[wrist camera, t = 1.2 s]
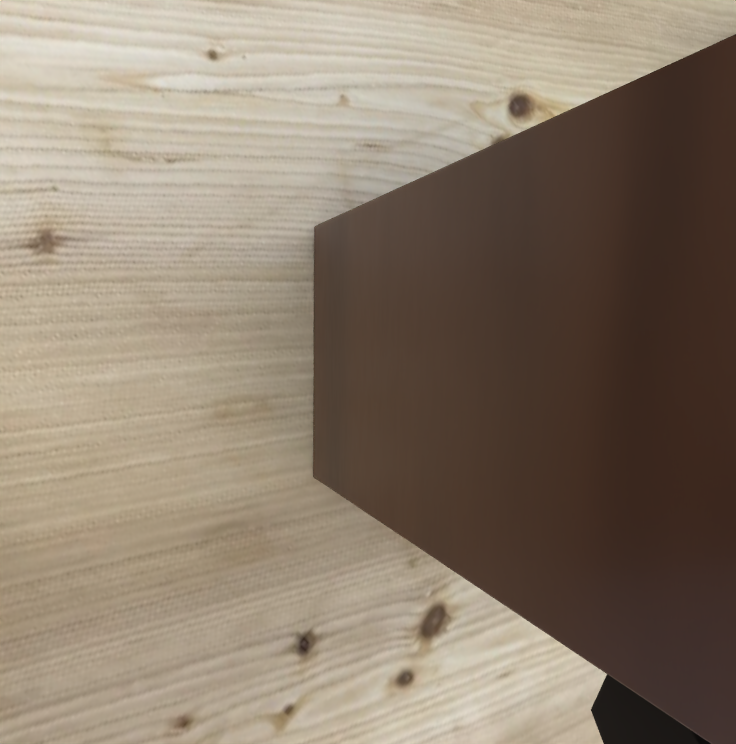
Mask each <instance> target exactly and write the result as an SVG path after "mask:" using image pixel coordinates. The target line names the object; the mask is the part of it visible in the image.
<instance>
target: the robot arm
mask: <svg viewBox="0 0 736 744" xmlns="http://www.w3.org/2000/svg"><path fill="white" fill-rule="evenodd" d="M591 711H592V714H593V716H594V719H595V722H596V724H597V727H598V730H599V732H600V735H601V737H602V740H603V743H604V744H711V743H709V742H708V741H706V740H705V739H703V738H702V737H700V736H699V735H698V734H696V733H695V732H693V731H692V730H690V729H689V728H687V727H686V726H684V725H683V724H681V723H680V722H678V721H677V720H675V719H674V718H672V717H671V716H669V715H668V714H666V713H665V712H663V711H662V710H660V709H659V708H657V707H656V706H654V705H653V704H651V703H650V702H648V701H647V700H645V699H644V698H642V697H641V696H639V695H638V694H636V693H635V692H633V691H632V690H630V689H629V688H627V687H626V686H624V685H623V684H621V683H620V682H618V681H617V680H615V679H614V678H612V677H611V676H610V675H608V674H607V676H606V678H605V680H604V682H603V685H602V687H601V689H600V691H599V693H598V696H597V698H596V700H595V702H594V704H593V707H592V709H591Z"/></svg>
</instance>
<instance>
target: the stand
mask: <svg viewBox="0 0 736 744" xmlns="http://www.w3.org/2000/svg"><path fill="white" fill-rule="evenodd" d="M313 476H314V478H316V479H317V480H319V481H320V482H322V483H323V484H325V485H326V486H328V487H329V488H331V489H332V490H334V491H335V492H337V493H338V494H340V495H341V496H343V497H344V498H346V499H347V500H348V501H350V502H351V503H353V504H354V505H356V506H357V507H359V508H360V509H362V510H363V511H365V512H366V513H368V514H369V515H371V516H372V517H374V518H375V519H377V520H378V521H380V522H381V523H383V524H384V525H386V526H387V527H389V528H390V529H392V530H393V531H395V532H396V533H398V534H399V535H401V536H402V537H404V538H405V539H407V540H408V541H410V542H411V543H413V544H414V545H416V546H417V547H419V548H420V549H422V550H423V551H425V552H426V553H428V554H429V555H431V556H432V557H434V558H435V559H436V560H438V561H439V562H441V563H442V564H444V565H445V566H447V567H448V568H450V569H451V570H453V571H454V572H456V573H457V574H459V575H460V576H462V577H463V578H465V579H466V580H468V581H469V582H471V583H472V584H474V585H475V586H477V587H478V588H480V589H481V590H483V591H484V592H486V593H487V594H489V595H490V596H492V597H493V598H495V599H496V600H498V601H499V602H501V603H502V604H504V605H505V606H507V607H508V608H510V609H511V610H513V611H514V612H516V613H517V614H519V615H520V616H522V617H523V618H524V619H526V620H527V621H529V622H530V623H532V624H533V625H535V626H536V627H538V628H539V629H541V630H542V631H544V632H545V633H547V634H548V635H550V636H551V637H553V638H554V639H556V640H557V641H559V642H560V643H562V644H563V645H565V646H566V647H568V648H569V649H571V650H572V651H574V652H575V653H577V654H578V655H580V656H581V657H583V658H584V659H586V660H587V661H589V662H590V663H592V664H593V665H595V666H596V667H598V668H599V669H601V670H602V671H604V672H605V673H607V674H608V675H610V676H611V677H612V678H614V679H615V680H617V681H618V682H620V683H621V684H623V685H624V686H626V687H627V688H629V689H630V690H632V691H633V692H635V693H636V694H638V695H639V696H641V697H642V698H644V699H645V700H647V701H648V702H650V703H651V704H653V705H654V706H656V707H657V708H659V709H660V710H662V711H663V712H665V713H666V714H668V715H669V716H671V717H672V718H674V719H675V720H677V721H678V722H680V723H681V724H683V725H684V726H686V727H687V728H689V729H690V730H692V731H693V732H695V733H696V734H698V735H699V736H700V737H702V738H703V739H705V740H706V741H708V742H709V743H711V744H736V34H735V35H733V36H731V37H729V38H727V39H724V40H722V41H720V42H718V43H716V44H713V45H711V46H709V47H707V48H705V49H702V50H700V51H698V52H696V53H694V54H691V55H689V56H687V57H685V58H683V59H680V60H678V61H676V62H674V63H672V64H670V65H667V66H665V67H663V68H661V69H659V70H656V71H654V72H652V73H650V74H648V75H645V76H643V77H641V78H639V79H637V80H634V81H632V82H630V83H628V84H626V85H623V86H621V87H619V88H617V89H615V90H612V91H610V92H608V93H606V94H604V95H602V96H599V97H597V98H595V99H593V100H591V101H588V102H586V103H584V104H582V105H580V106H577V107H575V108H573V109H571V110H569V111H566V112H564V113H562V114H560V115H558V116H555V117H553V118H551V119H549V120H547V121H545V122H542V123H540V124H538V125H536V126H534V127H531V128H529V129H527V130H525V131H523V132H520V133H518V134H516V135H514V136H512V137H509V138H507V139H505V140H503V141H501V142H498V143H496V144H494V145H492V146H490V147H487V148H485V149H483V150H481V151H479V152H477V153H474V154H472V155H470V156H468V157H466V158H463V159H461V160H459V161H457V162H455V163H452V164H450V165H448V166H446V167H444V168H441V169H439V170H437V171H435V172H433V173H430V174H428V175H426V176H424V177H422V178H419V179H417V180H415V181H413V182H411V183H409V184H406V185H404V186H402V187H400V188H398V189H395V190H393V191H391V192H389V193H387V194H384V195H382V196H380V197H378V198H376V199H373V200H371V201H369V202H367V203H365V204H362V205H360V206H358V207H356V208H354V209H352V210H349V211H347V212H345V213H343V214H341V215H338V216H336V217H334V218H332V219H330V220H327V221H325V222H323V223H321V224H319V225H316V226H315V245H314V459H313Z"/></svg>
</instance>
